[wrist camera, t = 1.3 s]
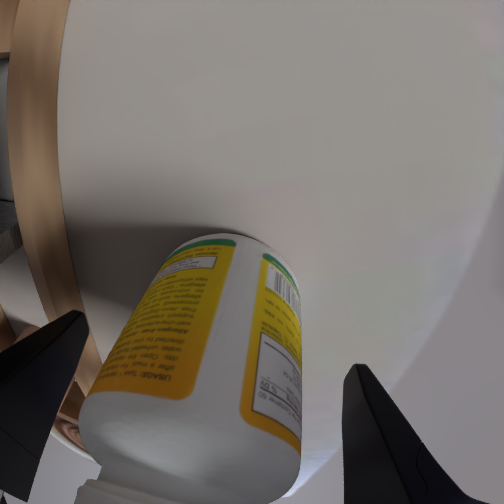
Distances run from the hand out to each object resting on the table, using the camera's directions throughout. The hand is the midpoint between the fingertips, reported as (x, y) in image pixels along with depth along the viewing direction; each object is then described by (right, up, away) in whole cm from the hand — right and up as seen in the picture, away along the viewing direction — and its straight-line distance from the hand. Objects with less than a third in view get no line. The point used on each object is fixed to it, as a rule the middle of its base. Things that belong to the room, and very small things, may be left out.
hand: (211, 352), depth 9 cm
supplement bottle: (0, +2, +3) cm, 3 cm away
